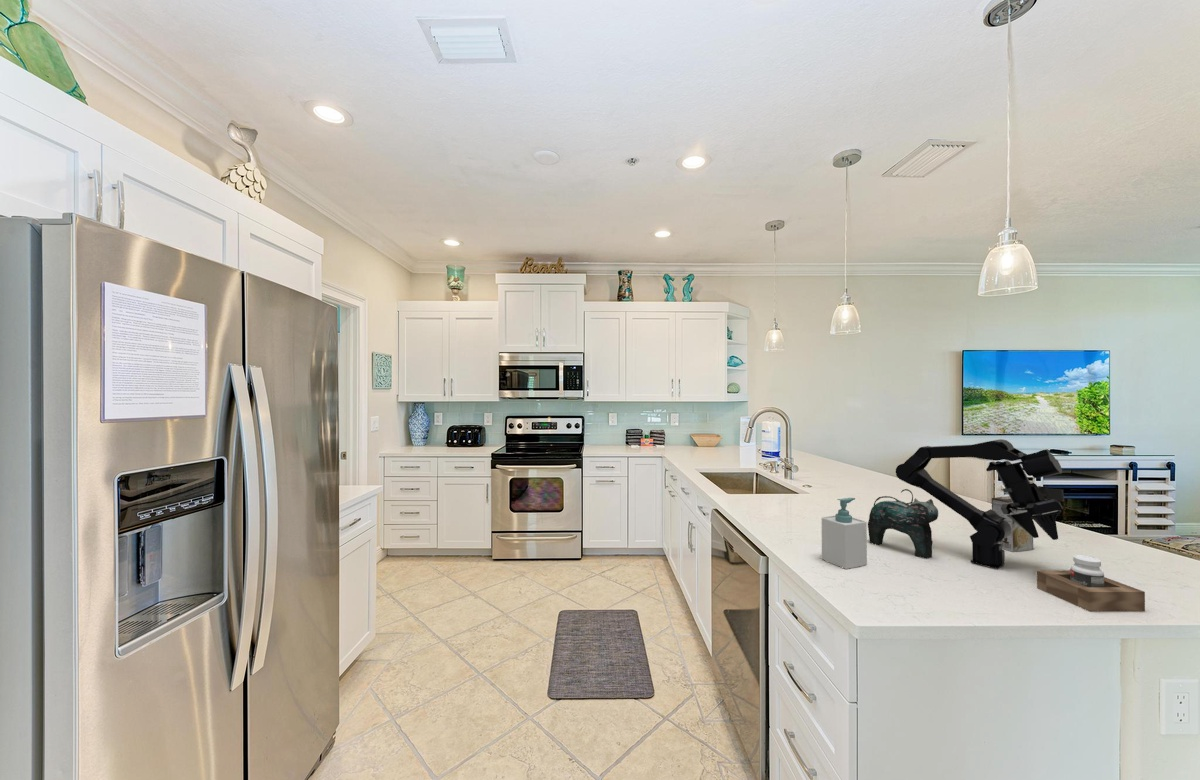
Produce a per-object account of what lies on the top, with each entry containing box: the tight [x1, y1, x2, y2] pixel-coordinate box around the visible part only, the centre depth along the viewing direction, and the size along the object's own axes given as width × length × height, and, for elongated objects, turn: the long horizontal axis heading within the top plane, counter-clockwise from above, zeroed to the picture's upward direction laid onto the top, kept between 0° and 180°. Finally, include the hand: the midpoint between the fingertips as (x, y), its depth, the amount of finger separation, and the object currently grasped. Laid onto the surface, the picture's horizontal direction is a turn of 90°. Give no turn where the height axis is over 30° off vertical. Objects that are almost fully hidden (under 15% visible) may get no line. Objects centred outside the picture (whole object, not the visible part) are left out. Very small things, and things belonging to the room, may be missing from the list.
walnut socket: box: [1036, 569, 1146, 612], centre depth 113 cm, size 13×13×4 cm
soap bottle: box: [821, 497, 868, 570], centre depth 138 cm, size 9×9×19 cm
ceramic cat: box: [867, 488, 939, 560], centre depth 148 cm, size 20×6×20 cm, turn 28°
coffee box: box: [991, 495, 1034, 553], centre depth 149 cm, size 9×6×16 cm
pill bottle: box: [1070, 554, 1105, 587], centre depth 113 cm, size 6×6×10 cm
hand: (1045, 538), depth 125 cm, fingers open, 9 cm apart
